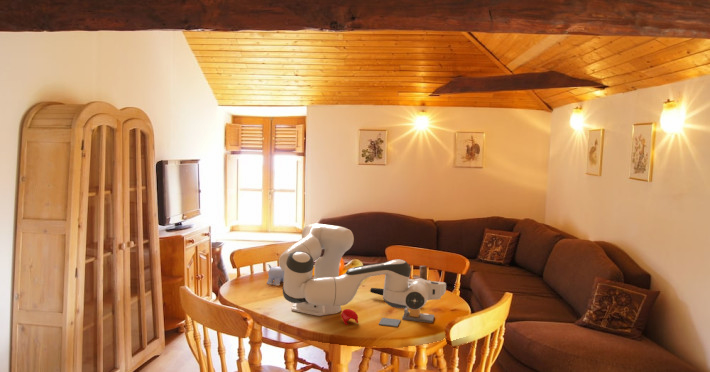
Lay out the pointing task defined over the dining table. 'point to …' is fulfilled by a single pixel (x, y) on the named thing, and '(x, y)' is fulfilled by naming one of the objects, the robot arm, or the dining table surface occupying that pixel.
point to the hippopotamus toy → (275, 275)
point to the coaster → (389, 322)
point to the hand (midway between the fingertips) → (423, 281)
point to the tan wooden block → (415, 312)
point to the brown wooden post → (423, 272)
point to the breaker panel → (421, 317)
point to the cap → (349, 315)
